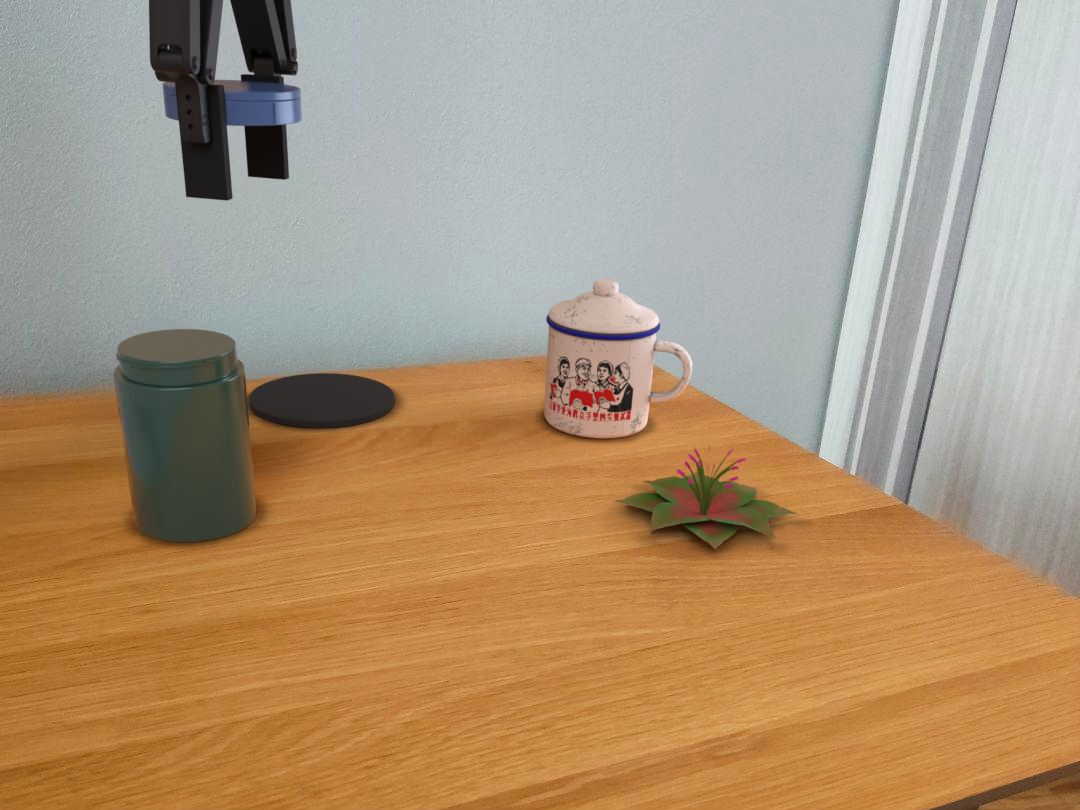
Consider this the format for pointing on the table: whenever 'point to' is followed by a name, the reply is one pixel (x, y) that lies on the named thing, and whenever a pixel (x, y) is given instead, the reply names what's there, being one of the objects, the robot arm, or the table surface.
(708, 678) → the table surface
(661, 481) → the lily flower
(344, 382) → the coaster
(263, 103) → the jar lid
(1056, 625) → the table surface
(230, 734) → the table surface
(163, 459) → the jar
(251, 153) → the robot arm
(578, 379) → the teacup with lid
